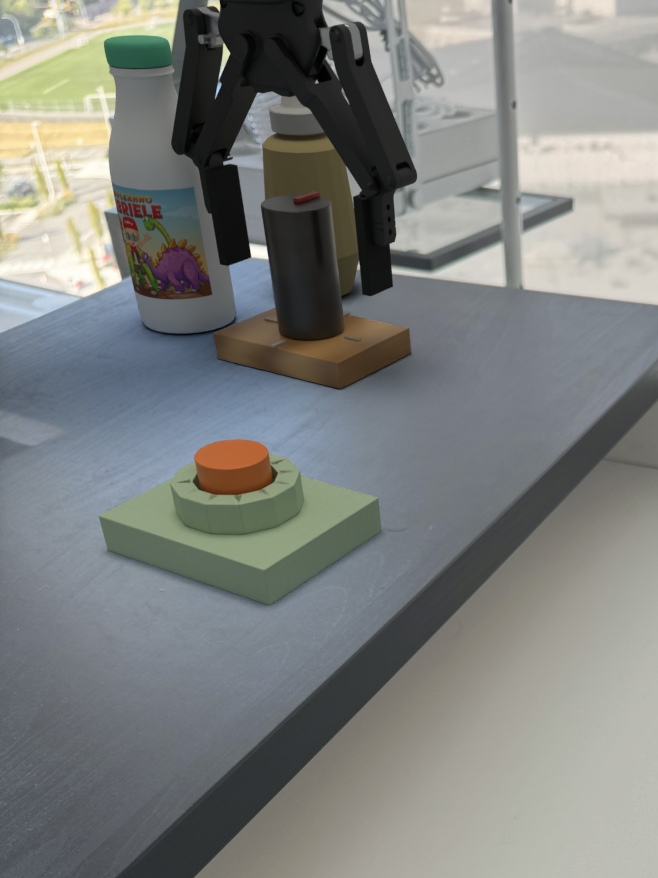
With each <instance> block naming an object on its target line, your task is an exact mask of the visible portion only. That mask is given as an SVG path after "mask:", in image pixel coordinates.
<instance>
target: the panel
mask: <svg viewBox="0 0 658 878" xmlns="http://www.w3.org/2000/svg"><path fill="white" fill-rule="evenodd" d="M351 314H352V313H351V312H350V311H344V312H343V318H344V327H345V328H344V330H343V332H342V333H340V334H338V335H336V336H333V337H330V338H325V339H319V340H298V339H292V338H288V337H285V336H283V335H282V334H281V333H280V332H279V328H278V322H277V315H276V308H275V307H273V308H271V309H270V308H269V309H268V310H265V311H263V312H261V313H258V314H256V315H253V316H251V317H248V318H245V319H244V320H241V321H239V322H236V323H234V324H232V325H229V326H225V327H224V328H221V329H219V330H216V331H214V332H212V335H213V342H214V346H215V347H214V348H215V351H216V352H215V353H216V357H217V359H218V360H222V361H226V362H230V363H234V364H238V365H242V366H246V367H250V368H255V369H259V370H263V371H265V372H266V371H267V372H269V373H274V374H279V375H282V376H286V377H290V378H294V379H299V380H302V381H307V382H311V383H315V384H319V385H322V386H326V387H330V388H334V389H339V390H341V389H343V388H345V387H348V386H350V385H351V384H354V383H356V382H357V381H360V380H362V379H363V378H365V377H367V376H369V375H372V374H373V373H376V372H377V371H379V370H381V369H384V368H385V367H386V366H388V365H390V364H393V363H394V362H397V361H399V360H400V359H402V358H405V357H407V356H409V355H411V354H412V348H411V346H412V345H411V334H410V328H409V327H407V326H401V325H397V324H393V323H390V322H389V323H388V322H383V321H379V320H374V319H371V318H365V317H360V316H356V315H351Z"/></svg>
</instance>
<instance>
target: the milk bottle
mask: <svg viewBox="0 0 658 878" xmlns="http://www.w3.org/2000/svg"><path fill="white" fill-rule="evenodd" d="M170 44H171V43H170V42H169V40H168V39H167V38H165V37H163V36H159V35H148V34H147V35H146V34H145V35H144V34H132V35H131V34H130V35H119V36H112V37H109V38H106V39H105V40H104V41H103V49H104V55H105V59H106V62H107V64H108V69H109V71H108V73H109V74H110V75H111V76H112V77H113V82H114V87H115V103H114V104H115V105H114V113H113V120H112V124H111V125H112V126H111V129H110V130H111V131H110V135H109V141H108V168H109V176H110V182H111V186H112V193H113V198H114V203H115V207H116V212H117V218H118V222H119V227H120V231H121V236H122V242H123V245H124V250H125V255H126V261H127V264H128V269H129V273H130V278H131V282H132V286H133V292H134V296H135V301H136V305H137V309H138V314H139V318H140V320H141V321H142V323H143V324H144V326H145V327H147V328H149V329H150V330H153V331H156V332H160V333H165V334H166V333H167V334H195V333H203V332H209V331H213V330H216V329H220V328H223V327H226V326H228V325H229V324H231V323H232V322H233V321H234V320H235V317H236V313H237V308H236V301H235V294H234V288H233V282H232V281H233V280H232V276H231V270H230V265H229V266H225V265H220V261H219V255H218V250H217V244H216V238H215V232H214V226H213V220H212V214H210V213H208V212H207V209H206V207H205V203H204V196H203V191H202V186H201V180H200V175H199V170H198V167H196V166H195V164H194V163H193V161H192V159H190V158H189V157H187V156H186V155H184V154H183V155H178V154H176V153H175V152H174V150H173V148H172V145H171V140H172V133H173V127H174V120H175V114H176V107H177V100H178V92H177V90H176V88H175V84H174V79H173V74H174V73H175V72H176V71H175V69H174V65H173V55H172V49H171V45H170Z"/></svg>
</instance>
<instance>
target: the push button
mask: <svg viewBox="0 0 658 878" xmlns="http://www.w3.org/2000/svg"><path fill="white" fill-rule="evenodd" d="M269 453H270V452H269V449H268V448H267V446H266V445H264V444H263V443H261V442H258V441H256V440H250V439H243V438H242V439H240V438H239V439H235V438H234V439H225V440H219V441H215V442H212V443H207V444H206V445H204V446H202V447H200V448H199V449H197V451H196V452H195V454H194V456H193V459H194V460H193V461H195V465H196V470H197V474H198V479H199V484H200V488H201V490H202V491H204V492H208V493H211V494H214V495H240V494H245V493H249V492H254V491H259V490H261V489H263V488H265V487H267V486H268V485H270V484H272V482H273V477H272V471H271V464H270V458H269Z"/></svg>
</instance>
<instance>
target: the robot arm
mask: <svg viewBox="0 0 658 878" xmlns="http://www.w3.org/2000/svg"><path fill="white" fill-rule="evenodd" d="M218 1H219V9H218V7H217V6H214V5H209V6H208V5H207V6H200V7H193V8H187V9H185V10H184V11H183V13H182V22H183V33H184V43H185V47H184V48H185V49H184V55H183V61H182V69H181V76H180V80H179V81H180V82H179V88H178V93H177V95H178V100H177V107H176V114H175V120H174V127H173V133H172V140H171V145H172V148H173V150H174V152H175V153H176V154H178V155H183V154H184V155H186V156H187V157H189V158H190V159H192V161H193V163H194V164H195V166H196V167H198V170H199V175H200V180H201V186H202V191H203V196H204V203H205V207H206V209H207V212H208V213H210V214H212V220H213V226H214V232H215V238H216V244H217V250H218V255H219V261H220V265H225V266H229V267H230V266H232V265H234V264H237V263H241V262H243V261H246V260H249V259H251V258H252V252H251V244H250V239H249V231H248V227H247V226H248V225H247V221H246V219H247V218H246V213H245V207H244V206H245V205H244V199H243V194H242V187H241V181H240V174H239V173H240V172H239V167H238V164H234V163H227V164H224V162H228V161H232V160H233V159H234V157H233V156H231V151H232V149H233V146H234V145H235V143H236V140H237V138H238V136H239V133H240V131H241V130H242V127H243V125H244V123H245V121H246V120H247V119H246V118H247V116H248V115H249V112H250V110H251V107H252V105H253V104H254V101H255V99H256V97H257V96H258V94H266V93H271V92H272V93H274V94H276V95H278V96H280V97H281V96H285V97H293V96H296V97H297V99H298V101H299V102H300V103H301V104H302V105H303V106H305V107H307V108H308V109H310V111H311V112H312V114H313V115H314V117H315V118H316V120H317V121H318V123H319V125H320V126H321V128H322V129H323V131H324V132H325V134H326V135H327V137H328V139H329V140H330V142H331V143H332V145H333V146H334V148H335V149H336V151H337V153H338V154H339V156H340V157H341V159H342V160H343V162H344V163H345V165H346V169H347V171H349V174H351V176H352V177H353V179H354V181H355V182H356V184H357V185H358V187H359V188H360V190H361V191H360V192H359V194H357V195H354V196H352V201H353V206H354V213H355V223H356V234H357V244H358V254H359V262H358V265H359V272H360V273H359V274H360V282H361V292H362V293H361V295H362V296H368V297H372V296H375V295H377V294H379V293H382V292H385V291H386V290H389V289H391V288H393V287H394V280H393V267H392V255H391V244H393V243H395V242H396V238H397V227H396V225H397V223H396V215H395V214H396V211H395V210H396V209H395V194H396V191H397V190H398V189H403V188H405V187H407V186H408V187H409V186H411V185H414V184H415V183H416V182H417V180H418V174H417V173H418V172H417V169H416V167H415V164H414V162H413V160H412V156H411V155H410V153H409V150H408V147H407V145H406V143H405V140H404V138H403V136H402V135H403V134H402V133H401V130H400V127H399V125H398V122H397V120H396V118H395V115H394V113H393V111H392V108H391V106H390V103H389V101H388V98H387V96H386V94H385V91H384V88H383V86H382V84H381V81H380V78H379V76H378V73H377V71H376V69H375V67H374V64H373V61H372V56H371V48H370V43H369V37H368V31H367V28H366V26H365V24H364V23H363V22H361V21H352V22H346V23H340V24H334V25H332V26H331V25H330V26H329V25H328V23H327V21H326V18H325V14H324V11H323V3H324V0H218ZM224 45H225V47H226V49H227V50H228V52H229V55H228V57H227V60H226V62H225V65H224V67H223V69H222V72H221V68H222V64H223V63H222V62H223V54H224ZM327 59H328V60H329V61H332V62H333V65H334V69H335V71H334V70H333V68H332V66H331V65H330V63H329V62H328V60H327ZM335 72H336V73H335ZM316 82H317V83H316ZM219 83H220V87H219V89H218V85H219ZM342 90H343V91H342ZM217 91H218V92H217ZM343 93H344V94H343Z"/></svg>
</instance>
